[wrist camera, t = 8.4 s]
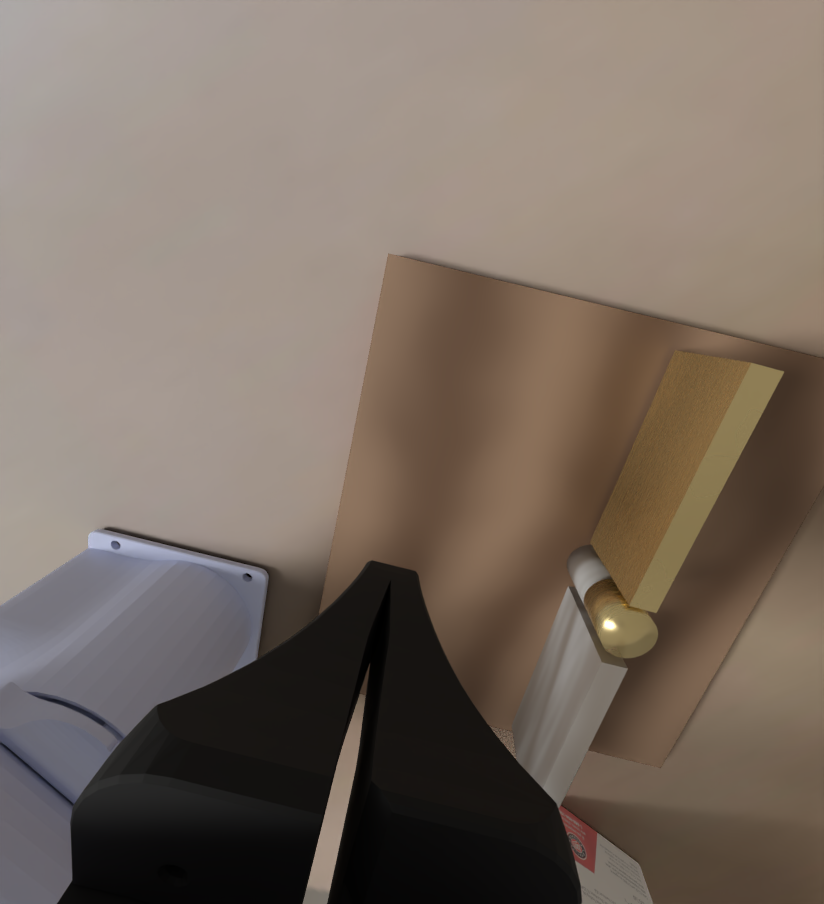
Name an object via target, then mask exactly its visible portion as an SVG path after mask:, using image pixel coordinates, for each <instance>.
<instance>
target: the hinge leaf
mask: <svg viewBox="0 0 824 904" xmlns="http://www.w3.org/2000/svg"><path fill="white" fill-rule="evenodd" d="M783 374H784V371H780V370H776V369H773V368H769V367H765V366H762V365H758V364H754V363H750V362H744V361H738V360H732V359H726V358H719V357H713V356H707V355H701V354H695V353H689V352H683V351H677V350H675V352H674V354H673V356H672V358H671V361H670V363H669V365H668V367H667V370H666V372H665V374H664V376H663V379H662V381H661V383H660V385H659V388H658V390H657V392H656V394H655V397H654V399H653V401H652V404H651V406H650V408H649V410H648V413H647V415H646V417H645V419H644V422H643V424H642V426H641V428H640V431H639V433H638V435H637V437H636V440H635V442H634V444H633V446H632V449H631V451H630V453H629V455H628V458H627V460H626V462H625V464H624V467H623V469H622V471H621V474H620V476H619V478H618V480H617V483H616V485H615V487H614V489H613V492H612V494H611V496H610V498H609V501H608V503H607V505H606V507H605V510H604V512H603V514H602V516H601V519H600V521H599V523H598V525H597V528H596V530H595V532H594V534H593V537H592V539H591V541H590V543H591V545H592V546H593V548H594V550H595V551H596V553H597V554H598V556H599V558H600V559H601V561H602V563H603V564H604V566H605V567H606V569H607V571H608V572H609V574H610V576H611V577H612V579H604V580H601V581H598V582H596V583H594V584H593V585H592V586H590V587H589V588H588V590H587V591H586V593H585V596H584V606H585V609H586V611H587V613H588V615H589V617H590V619H591V622H592V624H593V626H594V628H595V630H596V632H597V634H598V637H599V639H600V641H601V643H602V645H603V647H604V648H605V650H606V651H607V652H609V653H610V654H612V655H614V656H616V657H620V658H634V657H638V656H641V655H643V654H645V653H647V652H648V651H649V650H650V649H652V647H653V646H654V645H655V643H656V641H657V638H658V630H657V627H656V625H655V623H654V622H653V620H652V619H651V617H650V616H649V614H648V613H647V611H650V612H654V613H657V611H658V609H659V607H660V605H661V603H662V602H663V600H664V598H665V596H666V594H667V592H668V590H669V588H670V586H671V585H672V583H673V581H674V579H675V577H676V575H677V573H678V571H679V570H680V568H681V566H682V564H683V562H684V560H685V558H686V556H687V554H688V553H689V551H690V549H691V547H692V545H693V543H694V541H695V539H696V537H697V536H698V534H699V532H700V530H701V528H702V526H703V524H704V522H705V521H706V519H707V517H708V515H709V513H710V511H711V509H712V507H713V505H714V504H715V502H716V500H717V498H718V496H719V494H720V492H721V490H722V489H723V487H724V485H725V483H726V481H727V479H728V477H729V475H730V473H731V472H732V470H733V468H734V466H735V464H736V462H737V460H738V458H739V456H740V455H741V453H742V451H743V449H744V447H745V445H746V443H747V441H748V440H749V438H750V436H751V434H752V432H753V430H754V428H755V426H756V424H757V423H758V421H759V419H760V417H761V415H762V413H763V411H764V409H765V408H766V406H767V404H768V402H769V400H770V398H771V396H772V394H773V392H774V391H775V389H776V387H777V385H778V383H779V381H780V379H781V377H782V375H783ZM646 610H647V611H646Z"/></svg>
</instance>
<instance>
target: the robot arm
mask: <svg viewBox="0 0 824 904" xmlns="http://www.w3.org/2000/svg"><path fill="white" fill-rule="evenodd" d="M117 542H119V543H120V545H119V544H118V543H117ZM246 573H248V574H250V575H251V576H252V578H250V577H248V576H247V575H246ZM268 580H269V575H268V573H267V572H266V571H265V570H264V569H262V568H259V567H255V566H250V565H246V564H242V563H238V562H234V561H230V560H226V559H222V558H218V557H214V556H210V555H206V554H202V553H198V552H193V551H189V550H185V549H181V548H177V547H173V546H169V545H165V544H161V543H157V542H153V541H149V540H145V539H141V538H136V537H132V536H128V535H124V534H120V533H116V532H112V531H108V530H104V529H96V530H94V531H93V532H91V533H90V534H89V537H88V549H86V550H85V551H83V552H82V553H80V554H79V555H77V556H75V557H74V558H72V559H71V560H69V561H68V562H66V563H65V564H63V565H62V566H60V567H59V568H57V569H56V570H54V571H52V572H51V573H49V574H48V575H46V576H45V577H43V578H42V579H40V580H39V581H37V582H36V583H34V584H33V585H31V586H29V587H28V588H26V589H25V590H23V591H22V592H20V593H19V594H17V595H16V596H14V597H13V598H11V599H10V600H8V601H7V602H5V603H3V604H2V605H0V904H302V903H303V899H304V896H305V892H306V888H307V884H308V879H309V875H310V871H311V867H312V863H313V859H314V855H315V851H316V847H317V843H318V839H319V835H320V831H321V827H322V823H323V819H324V814H325V810H326V806H327V802H328V798H329V794H330V790H331V786H332V782H333V778H334V774H335V770H336V766H337V762H338V759H339V755H340V752H341V749H342V745H343V742H344V739H345V736H346V733H347V730H348V727H349V724H350V721H351V718H352V715H353V712H354V709H355V706H356V703H357V700H358V697H359V694H360V691H361V688H362V685H363V682H364V679H365V676H366V673H367V670H368V667H369V664H370V667H369V675H368V683H367V690H366V698H365V706H364V714H363V722H362V730H361V738H360V746H359V753H358V759H357V765H356V771H355V776H354V780H353V785H352V790H351V795H350V799H349V804H348V809H347V814H346V818H345V823H344V828H343V832H342V837H341V842H340V846H339V851H338V856H337V861H336V865H335V870H334V875H333V879H332V884H331V889H330V893H329V898H328V903H327V904H582V895H581V884H580V880H579V876H578V871H577V867H576V863H575V858H574V855H573V851H572V848H571V845H570V842H569V838H568V835H567V832H566V829H565V826H564V823H563V821H562V818H561V815H560V812H559V809H558V806H557V803H556V802H555V801H554V800H553V799H552V798H551V797H550V796H549V795H548V794H547V792H546V791H545V790H544V789H543V788H542V787H541V786H540V785H539V784H538V783H537V782H536V781H535V780H534V779H533V778H532V776H531V775H530V774H529V773H528V772H527V771H526V770H525V769H524V768H523V767H522V766H521V765H520V764H519V763H518V761H517V760H516V759H515V758H514V757H513V755H512V754H511V753H510V752H509V751H508V749H507V748H506V747H505V746H504V744H503V743H502V742H501V741H500V740H499V738H498V737H497V736H496V735H495V733H494V732H493V731H492V729H491V728H490V727H489V725H488V724H487V722H486V721H485V720H484V718H483V717H482V715H481V714H480V712H479V711H478V710H477V708H476V707H475V705H474V704H473V703H472V701H471V699H470V698H469V696H468V694H467V693H466V691H465V690H464V688H463V686H462V685H461V683H460V681H459V679H458V678H457V676H456V674H455V672H454V670H453V668H452V667H451V665H450V663H449V661H448V659H447V657H446V655H445V652H444V650H443V648H442V646H441V644H440V641H439V639H438V637H437V634H436V632H435V629H434V627H433V624H432V621H431V619H430V616H429V613H428V610H427V607H426V604H425V601H424V597H423V594H422V590H421V586H420V581H419V575H418V574H417V572H416V571H414V570H410V569H406V568H402V567H398V566H394V565H390V564H385V563H381V562H377V561H373V560H371V561H369V562H367V563H366V565H365V566H364V568H363V569H362V571H361V572H360V573H359V575H358V576H357V577H356V578H355V580H354V581H353V582H352V583H351V584H350V585H349V587H348V588H347V589H346V590H345V591H344V592H343V593H342V594H341V595H340V596H339V597H338V598H337V599H336V600H335V601H334V602H333V603H332V604H331V605H330V606H329V607H327V608H326V609H325V610H324V611H323V612H322V613H321V614H320V615H319V616H317V617H316V618H315V619H314V620H313V621H312V622H310V623H309V624H308V625H307V626H305V627H304V628H303V629H301V630H300V631H299V632H297V633H296V634H295V635H293V636H292V637H291V638H289V639H288V640H286V641H285V642H283V643H282V644H280V645H279V646H277V647H276V648H274V649H273V650H271V651H270V652H268V653H266V654H265V655H263V656H262V657H260V658H258V659H257V657H258V650H259V643H260V636H261V629H262V622H263V615H264V608H265V601H266V594H267V587H268Z"/></svg>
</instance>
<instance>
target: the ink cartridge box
mask: <svg viewBox="0 0 824 904" xmlns="http://www.w3.org/2000/svg"><path fill="white" fill-rule="evenodd" d="M559 812H560V815H561V818H562V821H563V823H564V826H565V829H566V832H567V835H568V838H569V842H570V845H571V848H572V851H573V855H574V858H575V863H576V867H577V871H578V876H579V880H580V884H581V895H582V904H653V902H652V899H651V896H650V893H649V890H648V887H647V885H646V882H645V879H644V876H643V873H642V870H641V867H640V865H639V864H638V863H637V862H636V861H635V860H633V859H632V858H631V857H629V856H628V855H627V854H626V853H624V852H623V851H622V850H620V849H619V848H617V847H616V846H615V845H613V844H612V843H611V842H609V841H608V840H607V839H605V838H604V837H603V836H601V835H600V834H598V833H597V832H596V831H595V830H593V829H592V828H591V827H589V826H588V825H586V824H585V823H584V822H582V821H581V820H580V819H578V818H577V817H576V816H574V815H573V814H572V813H570V812H569V811H568V810H566V809H565V808H564V807H562V806H561V805H560V807H559Z"/></svg>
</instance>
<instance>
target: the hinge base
mask: <svg viewBox="0 0 824 904" xmlns="http://www.w3.org/2000/svg"><path fill="white" fill-rule="evenodd" d="M675 350H677V351H683V352H689V353H695V354H701V355H707V356H713V357H719V358H726V359H732V360H738V361H744V362H750V363H754V364H758V365H762V366H765V367H769V368H773V369H776V370H780V371H784V374H783V375H782V377H781V379H780V381H779V383H778V385H777V387H776V389H775V391H774V392H773V394H772V396H771V398H770V400H769V402H768V404H767V406H766V408H765V409H764V411H763V413H762V415H761V417H760V419H759V421H758V423H757V424H756V426H755V428H754V430H753V432H752V434H751V436H750V438H749V440H748V441H747V443H746V445H745V447H744V449H743V451H742V453H741V455H740V456H739V458H738V460H737V462H736V464H735V466H734V468H733V470H732V472H731V473H730V475H729V477H728V479H727V481H726V483H725V485H724V487H723V489H722V490H721V492H720V494H719V496H718V498H717V500H716V502H715V504H714V505H713V507H712V509H711V511H710V513H709V515H708V517H707V519H706V521H705V522H704V524H703V526H702V528H701V530H700V532H699V534H698V536H697V537H696V539H695V541H694V543H693V545H692V547H691V549H690V551H689V553H688V554H687V556H686V558H685V560H684V562H683V564H682V566H681V568H680V570H679V571H678V573H677V575H676V577H675V579H674V581H673V583H672V585H671V586H670V588H669V590H668V592H667V594H666V596H665V598H664V600H663V602H662V603H661V605H660V607H659V609H658V611H657V613H654V612H650V611H647V610H646V611H647V613H648V614H649V616H650V617H651V619H652V620H653V622H654V623H655V625H656V627H657V630H658V638H657V641H656V643H655V645H654V646H653V647H652V649H650V650H649V651H648V652H647V653H645V654H643V655H641V656H638V657H634V658H620V657H616V656H614V655H612V654H610V653H609V652H607V651H606V650H605V648H604V647H603V645H602V643H601V641H600V639H599V637H598V634H597V632H596V630H595V628H594V626H593V624H592V622H591V619H590V617H589V615H588V613H587V611H586V609H585V606H584V596H585V593H586V591H587V590H588V588H589V587H590V586H592V585H593V584H594V583H596V582H598V581H601V580H604V579H612V577H611V576H610V574H609V572H608V571H607V569H606V567H605V566H604V564H603V563H602V561H601V559H600V558H599V556H598V554H597V553H596V551H595V550H594V548H593V546H592V545H591V543H590V541H591V539H592V537H593V534H594V532H595V530H596V528H597V525H598V523H599V521H600V519H601V516H602V514H603V512H604V510H605V507H606V505H607V503H608V501H609V498H610V496H611V494H612V492H613V489H614V487H615V485H616V483H617V480H618V478H619V476H620V474H621V471H622V469H623V467H624V464H625V462H626V460H627V458H628V455H629V453H630V451H631V449H632V446H633V444H634V442H635V440H636V437H637V435H638V433H639V431H640V428H641V426H642V424H643V422H644V419H645V417H646V415H647V413H648V410H649V408H650V406H651V404H652V401H653V399H654V397H655V394H656V392H657V390H658V388H659V385H660V383H661V381H662V379H663V376H664V374H665V372H666V370H667V367H668V365H669V363H670V361H671V358H672V356H673V354H674V352H675ZM823 487H824V358H820V357H815V356H811V355H807V354H803V353H799V352H795V351H790V350H786V349H782V348H778V347H774V346H770V345H766V344H761V343H757V342H753V341H749V340H745V339H741V338H737V337H732V336H728V335H724V334H720V333H716V332H712V331H708V330H703V329H699V328H695V327H691V326H687V325H683V324H679V323H674V322H670V321H666V320H662V319H658V318H654V317H650V316H645V315H641V314H637V313H633V312H629V311H625V310H620V309H616V308H612V307H608V306H604V305H600V304H596V303H591V302H587V301H583V300H579V299H575V298H571V297H567V296H562V295H558V294H554V293H550V292H546V291H542V290H538V289H533V288H529V287H525V286H521V285H517V284H513V283H509V282H504V281H500V280H496V279H492V278H488V277H484V276H479V275H475V274H471V273H467V272H463V271H459V270H455V269H450V268H446V267H442V266H438V265H434V264H430V263H426V262H421V261H417V260H413V259H409V258H405V257H401V256H397V255H392V254H388V258H387V263H386V268H385V273H384V278H383V284H382V289H381V294H380V299H379V304H378V309H377V315H376V320H375V325H374V330H373V335H372V341H371V346H370V351H369V356H368V361H367V366H366V372H365V377H364V382H363V387H362V392H361V397H360V403H359V408H358V413H357V418H356V423H355V428H354V434H353V439H352V444H351V449H350V454H349V460H348V465H347V470H346V475H345V480H344V485H343V491H342V496H341V501H340V506H339V511H338V516H337V522H336V527H335V532H334V537H333V542H332V547H331V553H330V558H329V563H328V568H327V573H326V578H325V584H324V589H323V594H322V599H321V604H320V610H319V615H320V614H321V613H322V612H323V611H324V610H325V609H326V608H327V607H329V606H330V605H331V604H332V603H333V602H334V601H335V600H336V599H337V598H338V597H339V596H340V595H341V594H342V593H343V592H344V591H345V590H346V589H347V588H348V587H349V585H350V584H351V583H352V582H353V581H354V580H355V578H356V577H357V576H358V575H359V573H360V572H361V571H362V569H363V568H364V566H365V565H366V563H367V562H369V561H371V560H373V561H377V562H381V563H385V564H390V565H394V566H398V567H402V568H406V569H410V570H414V571H416V572H417V574H418V575H419V581H420V586H421V590H422V594H423V597H424V601H425V604H426V607H427V610H428V613H429V616H430V619H431V621H432V624H433V627H434V629H435V632H436V634H437V637H438V639H439V641H440V644H441V646H442V648H443V650H444V652H445V655H446V657H447V659H448V661H449V663H450V665H451V667H452V668H453V670H454V672H455V674H456V676H457V678H458V679H459V681H460V683H461V685H462V686H463V688H464V690H465V691H466V693H467V694H468V696H469V698H470V699H471V701H472V703H473V704H474V705H475V707H476V708H477V710H478V711H479V712H480V714H481V715H482V717H483V718H484V720H485V721H486V722H487V724H488V725H489V726H492V727H496V728H500V729H505V730H509V731H513V738H514V744H515V751H516V757H517V761H518V763H519V764H520V765H521V766H522V767H523V768H524V769H525V770H526V771H527V772H528V773H529V774H530V775H531V776H532V778H533V779H534V780H535V781H536V782H537V783H538V784H539V785H540V786H541V787H542V788H543V789H544V790H545V791H546V792H547V794H548V795H549V796H550V797H551V798H552V799H553V800H554V801H555V802H556V803H557V806H558V809H559V807H560V805H561V803H562V801H563V799H564V797H565V795H566V793H567V791H568V789H569V787H570V785H571V783H572V781H573V779H574V777H575V775H576V773H577V771H578V769H579V767H580V765H581V763H582V761H583V759H584V757H585V755H586V753H587V751H588V750H590V751H594V752H598V753H602V754H606V755H610V756H614V757H618V758H622V759H626V760H630V761H634V762H638V763H642V764H646V765H650V766H654V767H658V768H661V767H662V765H663V763H664V761H665V760H666V758H667V756H668V754H669V753H670V751H671V749H672V748H673V746H674V744H675V742H676V741H677V739H678V737H679V735H680V734H681V732H682V730H683V729H684V727H685V725H686V723H687V722H688V720H689V718H690V716H691V715H692V713H693V711H694V710H695V708H696V706H697V704H698V703H699V701H700V699H701V697H702V696H703V694H704V692H705V691H706V689H707V687H708V685H709V684H710V682H711V680H712V678H713V677H714V675H715V673H716V671H717V670H718V668H719V666H720V665H721V663H722V661H723V659H724V658H725V656H726V654H727V652H728V651H729V649H730V647H731V646H732V644H733V642H734V640H735V639H736V637H737V635H738V633H739V632H740V630H741V628H742V627H743V625H744V623H745V621H746V620H747V618H748V616H749V614H750V613H751V611H752V609H753V608H754V606H755V604H756V602H757V601H758V599H759V597H760V595H761V594H762V592H763V590H764V589H765V587H766V585H767V583H768V582H769V580H770V578H771V576H772V575H773V573H774V571H775V570H776V568H777V566H778V564H779V563H780V561H781V559H782V557H783V556H784V554H785V552H786V550H787V549H788V547H789V545H790V544H791V542H792V540H793V538H794V537H795V535H796V533H797V531H798V530H799V528H800V526H801V525H802V523H803V521H804V519H805V518H806V516H807V514H808V512H809V511H810V509H811V507H812V506H813V504H814V502H815V500H816V499H817V497H818V495H819V493H820V492H821V490H822V488H823ZM319 615H318V616H319ZM369 667H370V664H369ZM369 667H368V670H367V673H366V676H365V679H364V682H363V685H362V688H361V691H360V694H363V695H366V690H367V683H368V675H369Z"/></svg>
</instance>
